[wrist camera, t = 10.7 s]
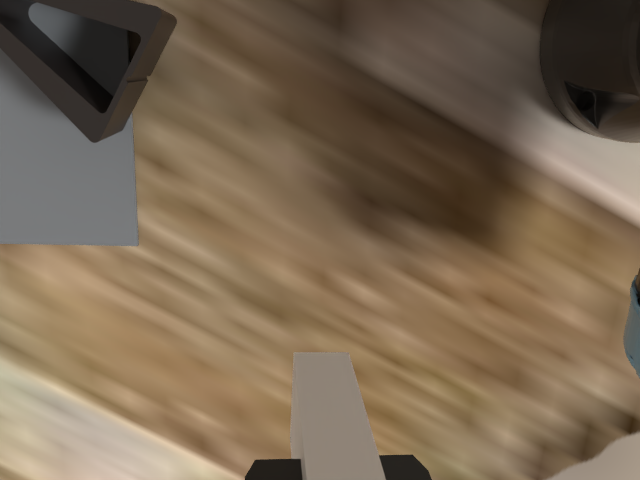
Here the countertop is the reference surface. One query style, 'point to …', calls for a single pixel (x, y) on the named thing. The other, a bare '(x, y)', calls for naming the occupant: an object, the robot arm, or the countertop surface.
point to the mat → (65, 147)
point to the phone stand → (72, 80)
